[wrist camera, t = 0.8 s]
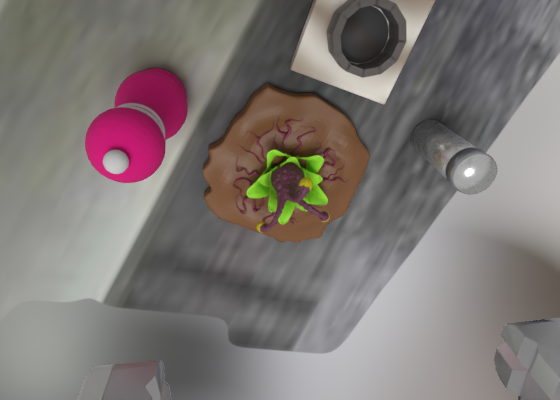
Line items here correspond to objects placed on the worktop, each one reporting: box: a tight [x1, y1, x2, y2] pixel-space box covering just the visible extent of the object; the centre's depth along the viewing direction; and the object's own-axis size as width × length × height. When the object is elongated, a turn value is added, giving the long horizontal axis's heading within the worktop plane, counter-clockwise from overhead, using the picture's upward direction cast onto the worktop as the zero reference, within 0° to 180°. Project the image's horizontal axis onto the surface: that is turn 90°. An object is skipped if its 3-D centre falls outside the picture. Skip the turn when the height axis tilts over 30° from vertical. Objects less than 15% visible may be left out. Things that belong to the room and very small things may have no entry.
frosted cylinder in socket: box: [411, 119, 497, 194], centre depth 47 cm, size 5×5×12 cm
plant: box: [203, 83, 370, 242], centre depth 47 cm, size 20×20×11 cm
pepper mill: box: [85, 68, 187, 183], centre depth 37 cm, size 7×7×20 cm
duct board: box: [289, 0, 435, 104], centre depth 43 cm, size 12×12×4 cm
